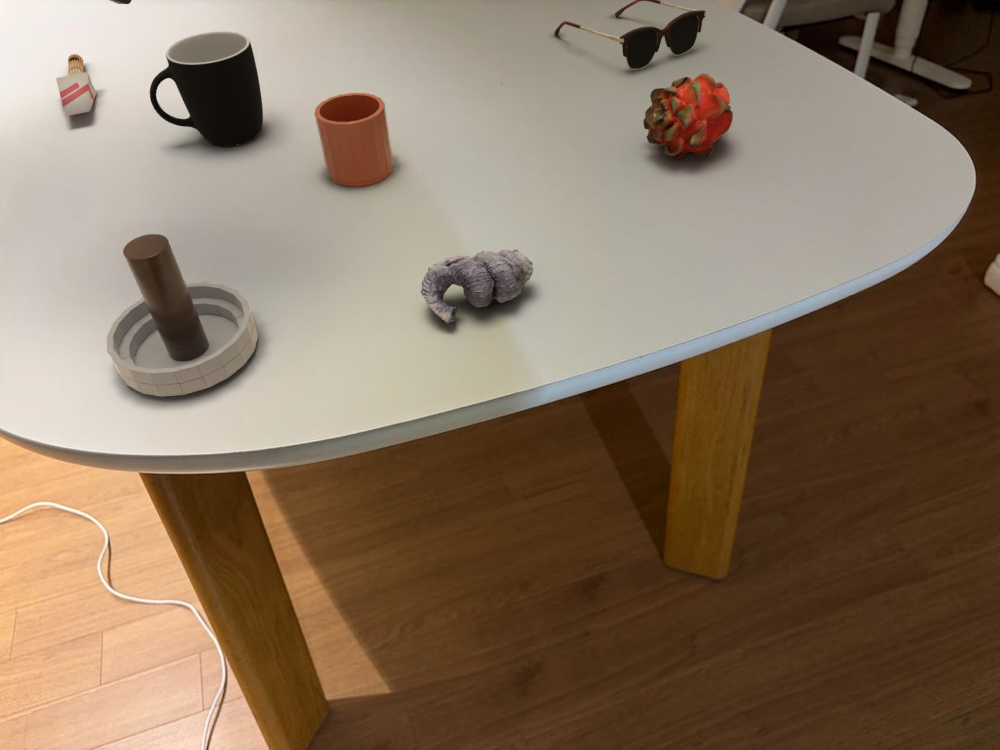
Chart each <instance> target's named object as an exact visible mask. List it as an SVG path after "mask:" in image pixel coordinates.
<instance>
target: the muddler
mask: <svg viewBox="0 0 1000 750" xmlns="http://www.w3.org/2000/svg"><path fill="white" fill-rule="evenodd" d="M122 253H123V256H124V258H125V262H126V263H127V265H128V267H129V269H130V273H131V275H132V276H133V278H134V281H135V282H136V285H137V287H138V290H139V292H140V294H141V296H142V298H144V300H145V303H146V305H147V307H148V309H149V312H150V314H151V316H152V318H153V320H154V323H155V325H156V327H157V329H158V331H159V334H160V336H161V338H162V340H163V342H164V345H165V347H166V349H167V351H168V354H169V356H170V357H171V358H172V359H174V360H176V361H190V360H193V359H196V358H198V357H200V356H201V355H202V354H204V353H205V352H206V350H207V349H208V346H209V341H208V339H207V336H206V334H205V331H204V329H203V326H202V324H201V321H200V319H199V316H198V314H197V311H196V309H195V306H194V304H193V301H192V299H191V296H190V294H189V291H188V289H187V286H186V284H187V283H186V281H185V279H184V277H183V275H182V271H181V269H180V266H179V264H178V262H177V258H176V256H175V254H174V250H173V248H172V246H171V244H170V242H169V239H168V238H167V237H166V236H165V235H162V234H157V233H150V234H149V233H148V234H143V235H141V236H137V237H135V238H133V239H132V240H130V241H129V242H127V244H126V245H125V246H123V249H122Z"/></svg>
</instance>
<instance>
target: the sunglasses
mask: <svg viewBox="0 0 1000 750" xmlns="http://www.w3.org/2000/svg"><path fill="white" fill-rule="evenodd" d="M639 2H649V3H654V4H657V5H662V6H666V7H669V8H674V9H678V10H681V11H685V12H684V13H681V14H680V15H678V16H676V17H675V18H673V19H672V20H670V21H669V22H668V23H667V25H666V26H665V27H664V28H662V29H660V28H658V27H656V26H641V27H636V28H634V29H631V30H630V31H628V32H625V33H624V34H622V35H621V36H619V37H618V36H615V35H612V34H607V33H603V32H600V31H597V30H594V29H591V28H588V27H586V26H582V25H581V24H577V23H574V22H571V21H567V20H564V21H562V22H561V23H560V24H559V25H558V26H557V28H555V31H554V35H555V37H558V36H559V35H560V32H561V29H562V28H563V27H564V26H565V25H567V26H570V27H573V28H575V29H579V30H582V31H586V32H588V33H591V34H594V35H598V36H600V37H604V38H607V39H610V40H611V41H615V42H618V43H619V44H620V45H621V48H622V49H621V50H622V56H623V57H625V60H626V65H627V67H628V69H630V70H641V69H644V68H646V67H648V66H649V65H650V64H651V62H652V61H653V59H654V57H655V54H656V53H658V52H659V49H660V46H661V43H662V40H663V38H664V42H665V45H666V47H667V48H669V50H670V52H671V54H672V55H674V56H677V57H678V56H682V55H684V54H686V53H688V52H689V51H691V50H692V49H693V48H694V46H695V45H696V42H697V38H698V33H701V32H702V27H703V21H704V18H706V16H707V11H706V10H704V9H702V10H701V9H700V10H699V9H695V8H689V7H686V6H685V7H684V6H680V5H677V4H672V3H669V2H666V1H662V0H634V1H632V2H630V3H627V5H624V6H623V7H621V8H620V9H619V10H617V11H616V12H615V13H614V16H615V17H616V18H619V17H620V16H621V15H622V14H623V13H624V12H625V10H627V9H629V8H630V7H632V6H634V5H636V4H638V3H639Z"/></svg>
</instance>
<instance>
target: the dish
mask: <svg viewBox="0 0 1000 750" xmlns="http://www.w3.org/2000/svg"><path fill="white" fill-rule="evenodd" d="M185 284H186V286H187V289H188V291H189V294H190V296H191V299H192V301H193V304H194V306H195V309H196V311H197V314H198V316H199V319H200V321H201V324H202V326H203V329H204V331H205V334H206V336H207V339H208V341H209V346H208V349H207V350H206V352H205V353H204V354H202V355H201V356H200V357H198V358H196V359H193V360H190V361H176V360H174V359H172V358H171V357H170V356H169V354H168V351H167V349H166V347H165V345H164V342H163V340H162V338H161V336H160V334H159V331H158V329H157V327H156V325H155V323H154V320H153V318H152V316H151V314H150V312H149V309H148V307H147V305H146V303H145V300H144V298H143V297H142V298H140V299H139V300H138V301H136V302H135V303H133V304H132V305H130V306H129V307H127V308H126V309H125V310H124V311H123V312H122V313H121V314H120V315H119V316H118V317H117V319H115V320H114V322H113V323H112V325H111V327H110V328H109V331H108V333H107V336H106V351H107V354H108V355H109V357H110V360H111V361H112V363H113V366H114V367H115V369H116V370H117V372H118V375H119V376H120V378H121V379H122V381H123V382H124V384H125V385H126V386H128V387H130V388H132V389H133V390H135V391H137V392H138V393H141V394H143V395H149V396H155V397H173V396H184V395H189V394H192V393H196V392H199V391H203V390H206V389H209V388H212V387H213V386H215V385H217V384H219V383H221V382H223V381H225V380H227V379H228V378H230V377H231V376H233V375H234V374H235V373H236V372H237V371H238V370H240V369H242V368H243V367H244V365H246V363H247V362H248V361H249V359H250V357H252V355H253V353H254V352H255V351H256V350H255V349H256V347H257V342H258V338H259V334H258V329H257V326H256V322H255V320H254V317H253V314H252V310H251V308H250V304H249V302H248V300H247V299H246V298H245V297H244V296H243V295H242V294H241V293H240V292H239V291H238V290H236V289H233V288H232V287H229V286H227V285H224V284H220V283H212V282H206V281H205V282H203V281H202V282H189V283H185Z"/></svg>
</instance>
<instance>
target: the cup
mask: <svg viewBox="0 0 1000 750" xmlns="http://www.w3.org/2000/svg"><path fill="white" fill-rule="evenodd" d="M314 117H315V123H316V127H317V132H318V136H319V140H320V141H319V142H320V144H321V149H322V154H323V159H324V164H325V168H326V171H327V175H328V178H329V179H330V180H331V181H332V182H333V183H334V184H337V185H339V186H343V187H349V188H350V187H351V188H359V187H360V188H361V187H366V186H371V185H374V184H377V183H380V182H382V181H384V180H385V179H386V178H388V177H389V176H390V175H391V174H392V173H393V171H394V158H393V150H392V143H391V137H390V129H389V124H388V118H387V112H386V106H385V102H384V101H383V100H382V97H379V96H377V95H375V94H373V93H372V94H371V93H367V92H348V93H341V94H337V95H334V96H331V97H328V98H327V99H324V100H323V101H321V102H320V103H319V104H318V105H317V106H315V109H314Z"/></svg>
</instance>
